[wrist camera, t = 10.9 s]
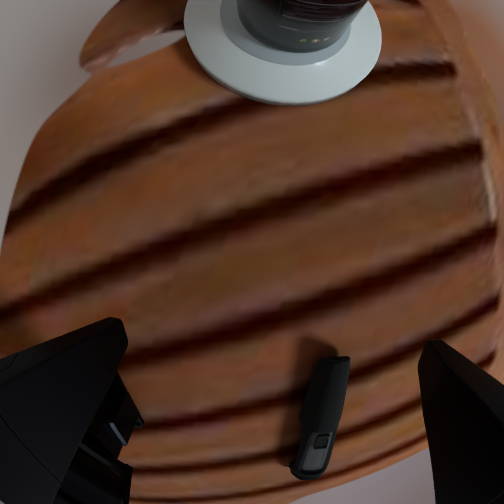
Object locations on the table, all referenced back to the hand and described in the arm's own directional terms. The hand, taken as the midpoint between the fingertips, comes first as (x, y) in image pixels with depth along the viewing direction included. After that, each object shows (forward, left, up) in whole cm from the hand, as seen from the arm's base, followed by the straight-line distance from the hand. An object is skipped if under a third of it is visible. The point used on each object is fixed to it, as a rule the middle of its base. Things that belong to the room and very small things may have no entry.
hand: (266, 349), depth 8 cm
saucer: (+5, +15, -11) cm, 20 cm away
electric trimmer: (+2, -16, -12) cm, 20 cm away
